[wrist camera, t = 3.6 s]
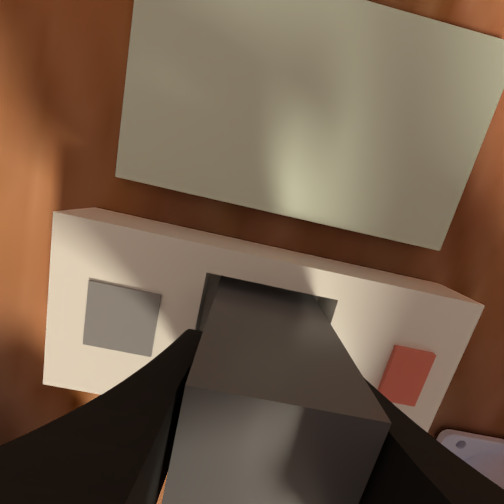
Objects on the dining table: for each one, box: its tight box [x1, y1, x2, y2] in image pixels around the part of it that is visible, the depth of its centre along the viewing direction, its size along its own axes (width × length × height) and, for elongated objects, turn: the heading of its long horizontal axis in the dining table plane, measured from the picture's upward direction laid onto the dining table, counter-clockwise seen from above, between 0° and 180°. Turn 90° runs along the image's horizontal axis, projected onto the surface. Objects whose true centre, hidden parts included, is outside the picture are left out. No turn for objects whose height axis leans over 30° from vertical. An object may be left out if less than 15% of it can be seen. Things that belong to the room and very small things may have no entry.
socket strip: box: [43, 207, 485, 433], centre depth 11 cm, size 16×7×3 cm, turn 77°
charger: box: [162, 276, 392, 504], centre depth 9 cm, size 4×4×7 cm
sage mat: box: [115, 0, 504, 251], centre depth 10 cm, size 14×8×1 cm, turn 77°
